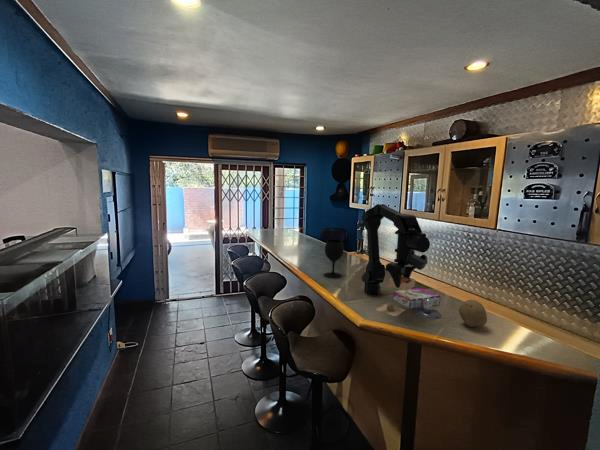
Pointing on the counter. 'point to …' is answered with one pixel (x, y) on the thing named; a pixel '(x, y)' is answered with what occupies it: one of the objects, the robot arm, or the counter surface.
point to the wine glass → (333, 255)
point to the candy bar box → (415, 297)
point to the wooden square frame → (403, 283)
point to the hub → (427, 310)
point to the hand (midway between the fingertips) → (401, 285)
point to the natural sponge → (473, 313)
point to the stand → (390, 309)
